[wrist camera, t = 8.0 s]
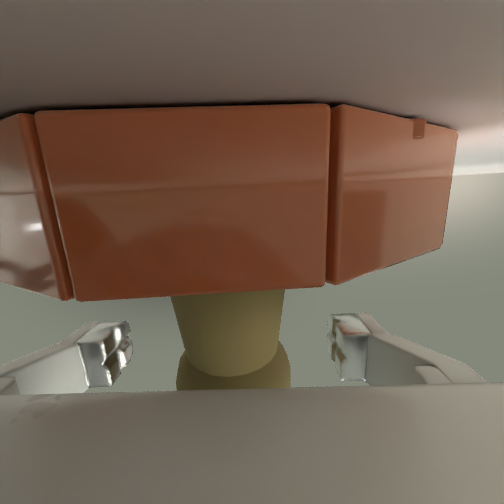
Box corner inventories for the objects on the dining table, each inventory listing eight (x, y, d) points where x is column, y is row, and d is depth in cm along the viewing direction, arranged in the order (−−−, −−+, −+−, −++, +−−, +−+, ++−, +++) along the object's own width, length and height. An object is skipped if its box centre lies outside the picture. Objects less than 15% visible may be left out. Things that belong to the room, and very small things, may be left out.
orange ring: (118, 179, 16) (124, 217, 16) (-487, 121, 3) (-345, 331, 3) (331, 171, 16) (330, 208, 17) (718, 91, 3) (655, 268, 4)
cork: (284, 144, 6) (287, 497, 8) (310, 165, 11) (307, 373, 14) (88, 163, 8) (140, 447, 10) (192, 173, 13) (209, 355, 16)
